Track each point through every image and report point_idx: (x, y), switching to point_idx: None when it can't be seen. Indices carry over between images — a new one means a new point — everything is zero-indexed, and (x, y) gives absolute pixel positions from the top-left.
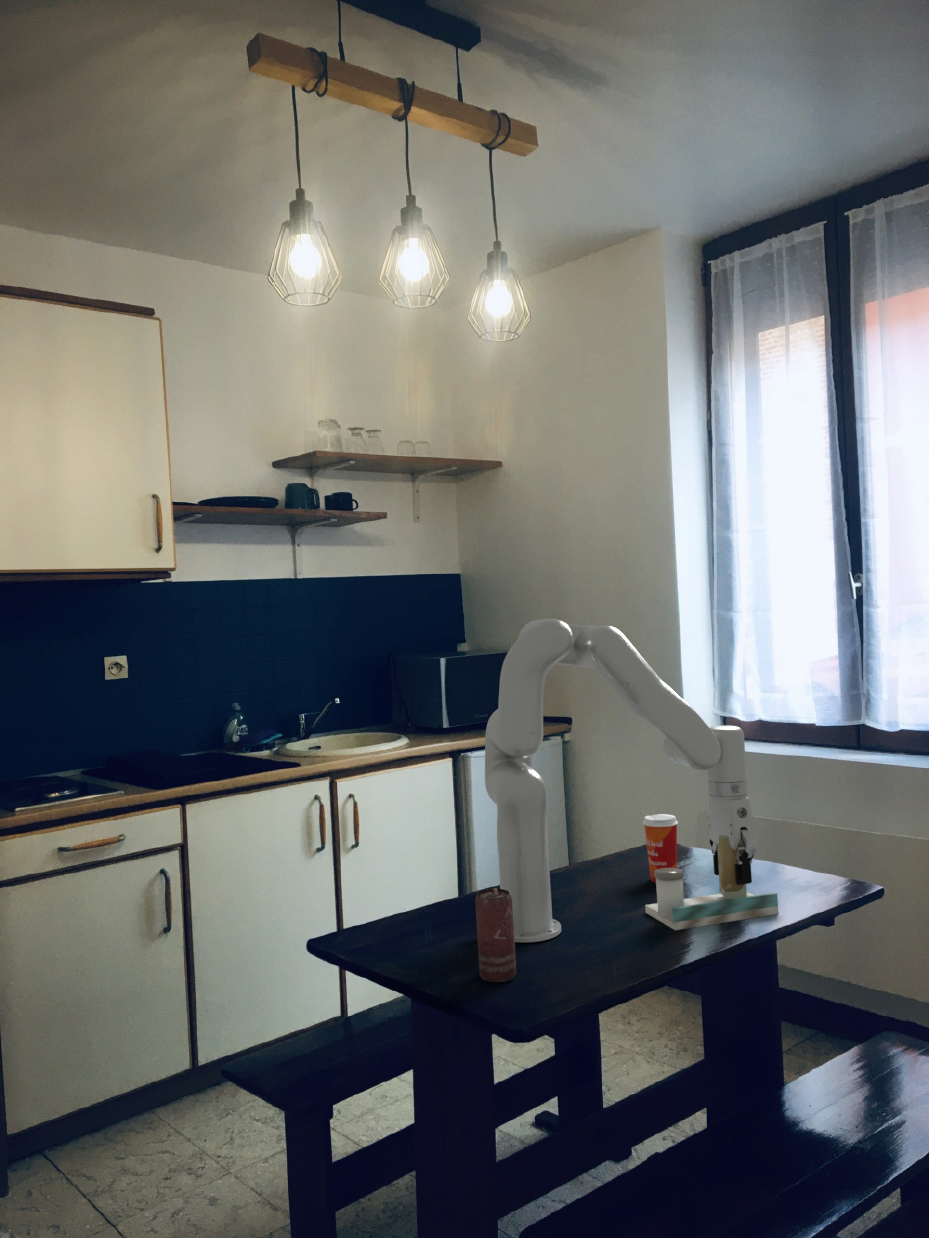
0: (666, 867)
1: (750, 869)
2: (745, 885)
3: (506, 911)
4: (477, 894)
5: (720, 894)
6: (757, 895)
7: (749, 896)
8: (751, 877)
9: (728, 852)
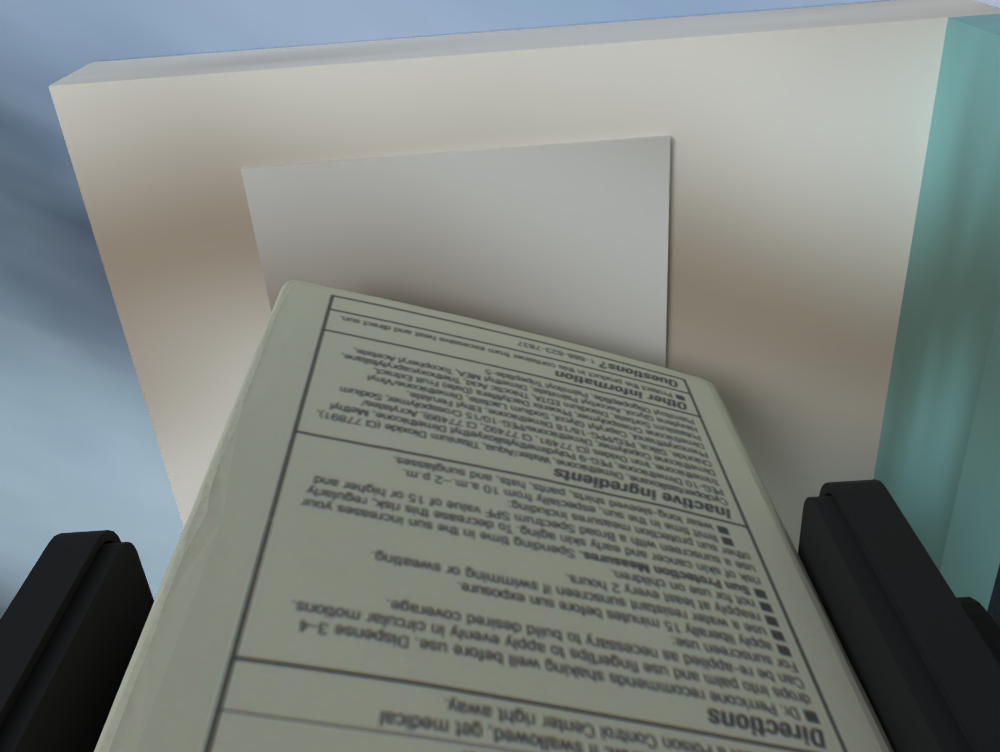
0: None
1: (987, 666)
2: (770, 507)
3: None
4: None
5: (191, 447)
6: (998, 390)
7: (968, 503)
8: (910, 530)
9: None
